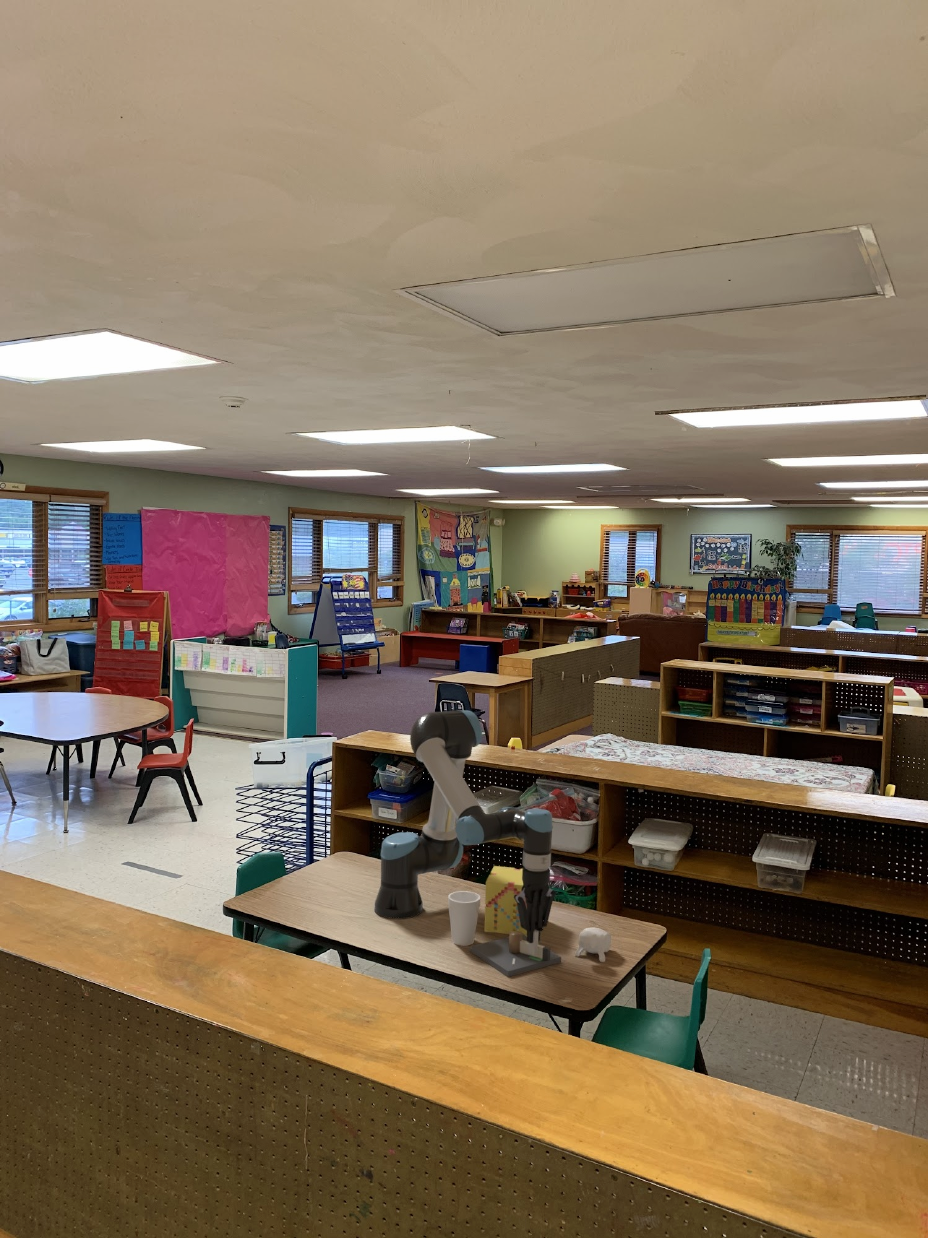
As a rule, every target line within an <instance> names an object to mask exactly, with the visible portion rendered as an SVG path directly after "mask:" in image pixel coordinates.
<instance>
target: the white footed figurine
mask: <svg viewBox="0 0 928 1238" xmlns="http://www.w3.org/2000/svg"><path fill="white" fill-rule="evenodd" d="M611 943H612V934H611V933H609V932H607V931H605V930H604V929H602V928H599V927H587V928H586V927H585V928H584V929H583V930H581V931H580V933H579V935H578V947H577V949H576V950H575V952H574V956H575V957H577V958H578V957H580V956H581V955H582V953H583V952H587V953H590V954H598V960H599V961H600V963H605V962H606V955H605V953H607V952H609V951H610V948H611V945H612V944H611Z"/></svg>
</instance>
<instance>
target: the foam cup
mask: <svg viewBox="0 0 928 1238" xmlns="http://www.w3.org/2000/svg"><path fill="white" fill-rule="evenodd" d="M447 907H448V913H449V923H450V924H449V925H450V933H451V941H452V943H453V944H454V945H457V946H464V947H465V946H466V947H467V946H472V945H473V944H474V943H475V938H476V937H475V936H476V930H477V923H478V917H479V912H480V907H481V895H480V894H478V893H476V892H474V891H469V890H468V891H466V890H461V891H460V890H457V891H453V892H451V893H449V894H448V896H447Z"/></svg>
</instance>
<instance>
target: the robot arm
mask: <svg viewBox="0 0 928 1238" xmlns="http://www.w3.org/2000/svg"><path fill="white" fill-rule="evenodd" d="M482 738H483V731H482V725H481V723H480V720H479V718H478V716H477V715H476V713H474V712H473V711H471V710H461V709H457V710H449V711H448V710H445V711H430V712H427V713H424V714H422V715H420V716H419V717H418V718H417V719H416V721H415V722H414V723H413V725H412V726H411V730H410V736H409V742H410V746H411V750H412V752H413V754H414V756H415V758H416V760H418V762H420V763H423V764H424V766H425V768H426V769H427V772H428V773H429V774H430V777H431V778H432V779H433V782H434V783H433V789H432V795H431V802H430V810H429V815H428V821H427V823H425V824H424V825H423V826H422V831H421V835H420V836H419V835H418V834H417V833H416V832H415V833H414V832H410V831H406V832H403V831H401V832H396V833H393V834H391V835H389V836H386V837H385V838H384V839H383V841H382V842H381V850H380V859H381V860H380V865H381V866H380V887H379V889H378V892H377V894H376V897H375V898H376V899H375V901H374V912H375V913H376V915H379V916H381V917H384V918H390V919H409V918H413V917H416V916H419V915H420V914H421V913H422V912H423V905H424V904H423V899H422V896H421V893H420V890H419V886H418V882H419V881H418V879H419V875H422V874H427V873H433V872H438V871H439V872H440V871H446V870H449V869H453V868H455V867H457V866H458V865H459V864H460V862H461V861H462V857H463V854H464V846H472V845H474V846H475V845H477V846H478V845H480V844H485V843H490V842H494V841H496V842H497V841H501V840H502V841H503V840H508V839H517V840H519V841H522V842H523V851H522V866H523V867H522V869H523V870H522V881H523V887H522V889H521V891H522V892H521V893H520V894H519V895H514V899H515V901H516V902H517V907H518V913H519V919H520V925H521V927H522V928H523V929H525V930H527V942H528V953H530V954H532V955H533V956H536V955H538V943H539V942H540V941H541V932H543V931H544V928H546V927H547V926H548V922H549V918H550V913H551V909H552V905H553V901H554V899H555V897H556V895H557V891H555V890H554V889H551V888H550V884H549V883H550V881H551V869H550V867H551V860H552V839H553V838H552V837H553V829H554V828H553V815H552V814H553V813H552V812H550V810H547V809H543V808H529V809H526V810H525V811H522V810H520V809H519V808H515V807H510V806H503V807H501V808H500V809H499V810H498V811H497V812H490V813H485V811H484V810H483V807H482V806H481V804H480V802H479V801H478V800H477V799H476V797H475V794H473V792H472V790H471V789H470V787H469V786H468V784H467V782H466V781H465V779H464V778H463V777H464V770H465V765H466V764H465V763H466V760H467V759H469V758H471V756H472V750H473V748H476V747H478V746H479V745H480V744H481V742H482ZM524 897H525V898H526V904H527V909H526V904H525V902H524V901H525V898H524Z"/></svg>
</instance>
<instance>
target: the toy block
mask: <svg viewBox="0 0 928 1238" xmlns="http://www.w3.org/2000/svg"><path fill="white" fill-rule="evenodd" d="M522 870H523V868H519V869H517V868H515V867H511V866H509V867H507V866H497V865H493V868H492V869H491V871H490V874H489V875H488V877H487V878H486V881H485V897H484V898H485V899H484V902H485V903H484V904H485V905H484V932H485V933H496V934H505V935H509V933H510V932H511V931H520V932H522V934H524V935H525V936H527V930H525V929H523V928H522V927H521V925H520V919H519V913H518V907H517V902H516V901H515V899H514V895H519V894H520V893H521V892H522V891H521V889H522V887H523V881H522ZM524 898H525V897H524ZM524 902H525V904H526V898H525V901H524ZM526 909H527V904H526Z"/></svg>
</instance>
